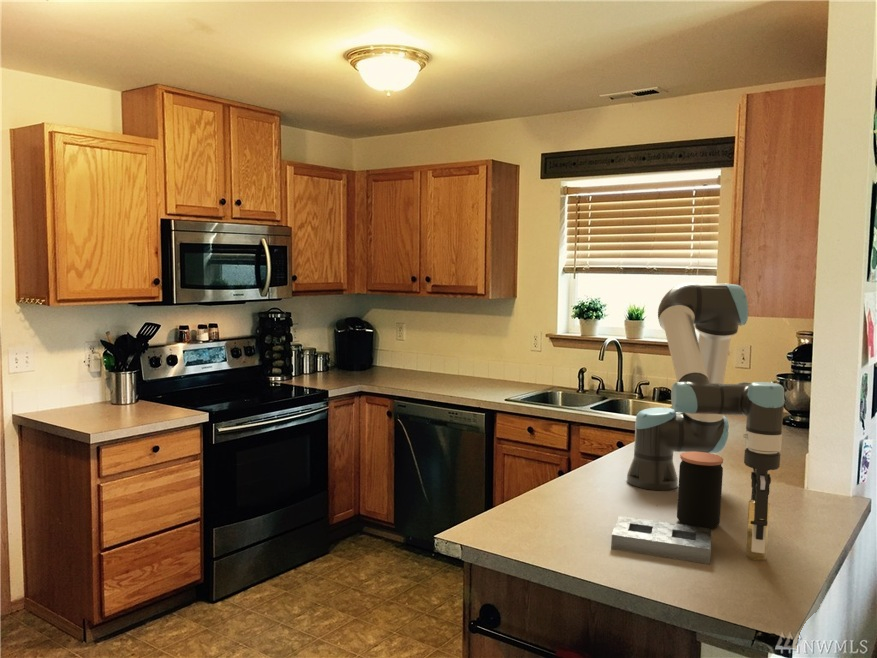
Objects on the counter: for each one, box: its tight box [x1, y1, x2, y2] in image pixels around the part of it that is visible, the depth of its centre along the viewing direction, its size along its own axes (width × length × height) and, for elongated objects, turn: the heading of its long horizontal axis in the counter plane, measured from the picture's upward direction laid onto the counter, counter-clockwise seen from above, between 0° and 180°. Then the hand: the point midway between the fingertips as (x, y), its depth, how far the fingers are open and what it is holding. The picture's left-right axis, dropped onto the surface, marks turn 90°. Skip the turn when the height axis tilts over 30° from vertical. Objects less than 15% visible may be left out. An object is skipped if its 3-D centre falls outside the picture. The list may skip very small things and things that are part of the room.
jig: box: [610, 515, 712, 565], centre depth 173 cm, size 14×22×4 cm, turn 69°
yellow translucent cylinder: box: [745, 499, 770, 562], centre depth 167 cm, size 4×4×13 cm
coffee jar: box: [676, 451, 724, 530], centre depth 188 cm, size 11×11×18 cm
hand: (756, 544), depth 167 cm, fingers open, 9 cm apart
